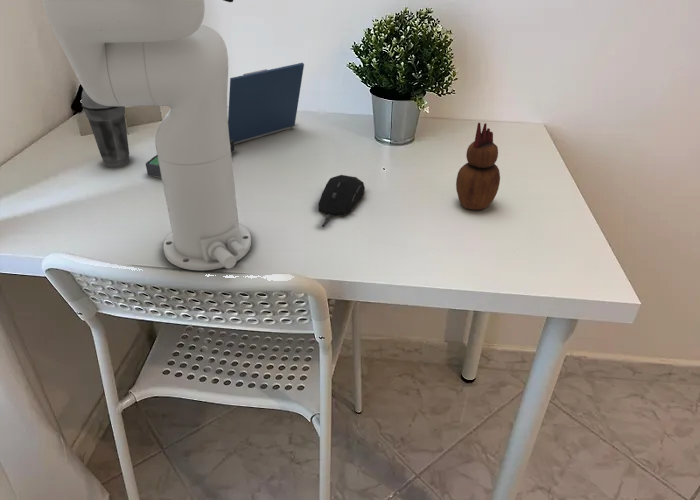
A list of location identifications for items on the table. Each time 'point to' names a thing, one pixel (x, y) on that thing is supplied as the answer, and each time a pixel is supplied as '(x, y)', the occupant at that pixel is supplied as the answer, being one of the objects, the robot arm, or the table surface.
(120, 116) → the beverage cup
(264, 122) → the sign
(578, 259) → the table surface
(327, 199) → the gaming mouse
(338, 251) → the table surface
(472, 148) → the wooden figurine
